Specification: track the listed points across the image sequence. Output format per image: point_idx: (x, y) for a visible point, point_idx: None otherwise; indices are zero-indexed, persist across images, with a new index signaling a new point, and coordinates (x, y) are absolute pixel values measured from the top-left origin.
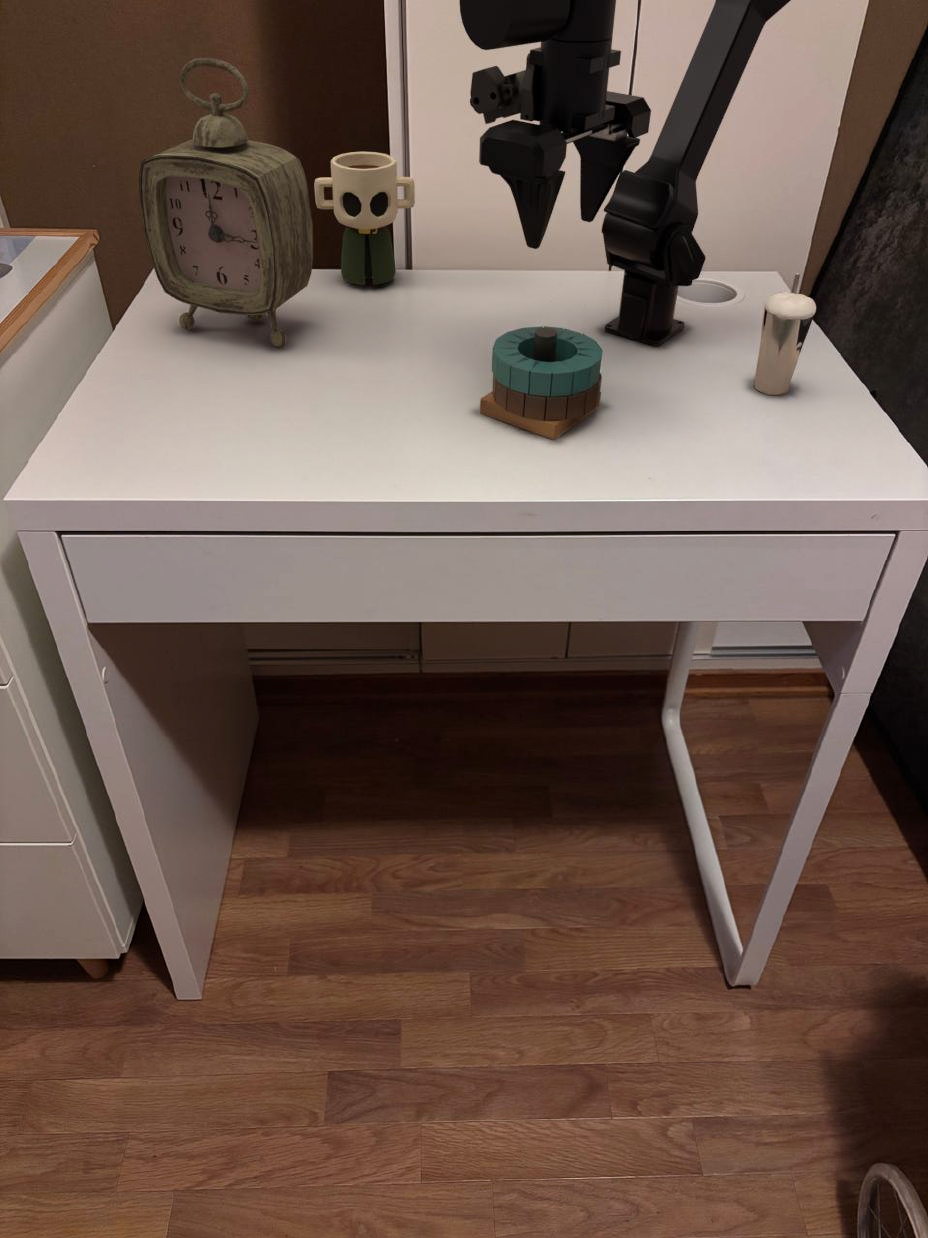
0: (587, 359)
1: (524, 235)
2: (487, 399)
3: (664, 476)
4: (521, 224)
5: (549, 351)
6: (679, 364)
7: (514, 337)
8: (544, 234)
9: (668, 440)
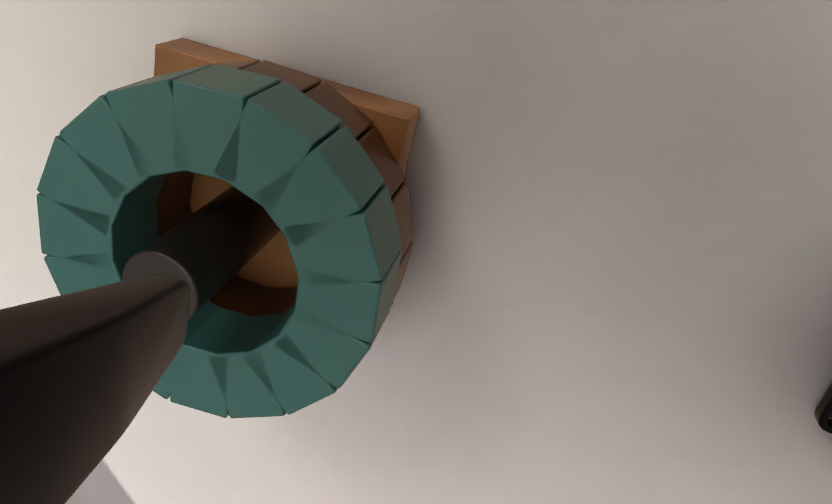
0: (201, 387)
1: (100, 288)
2: (158, 68)
3: (167, 463)
4: (21, 306)
5: None
6: (702, 472)
7: (218, 140)
8: (130, 421)
9: (295, 463)
